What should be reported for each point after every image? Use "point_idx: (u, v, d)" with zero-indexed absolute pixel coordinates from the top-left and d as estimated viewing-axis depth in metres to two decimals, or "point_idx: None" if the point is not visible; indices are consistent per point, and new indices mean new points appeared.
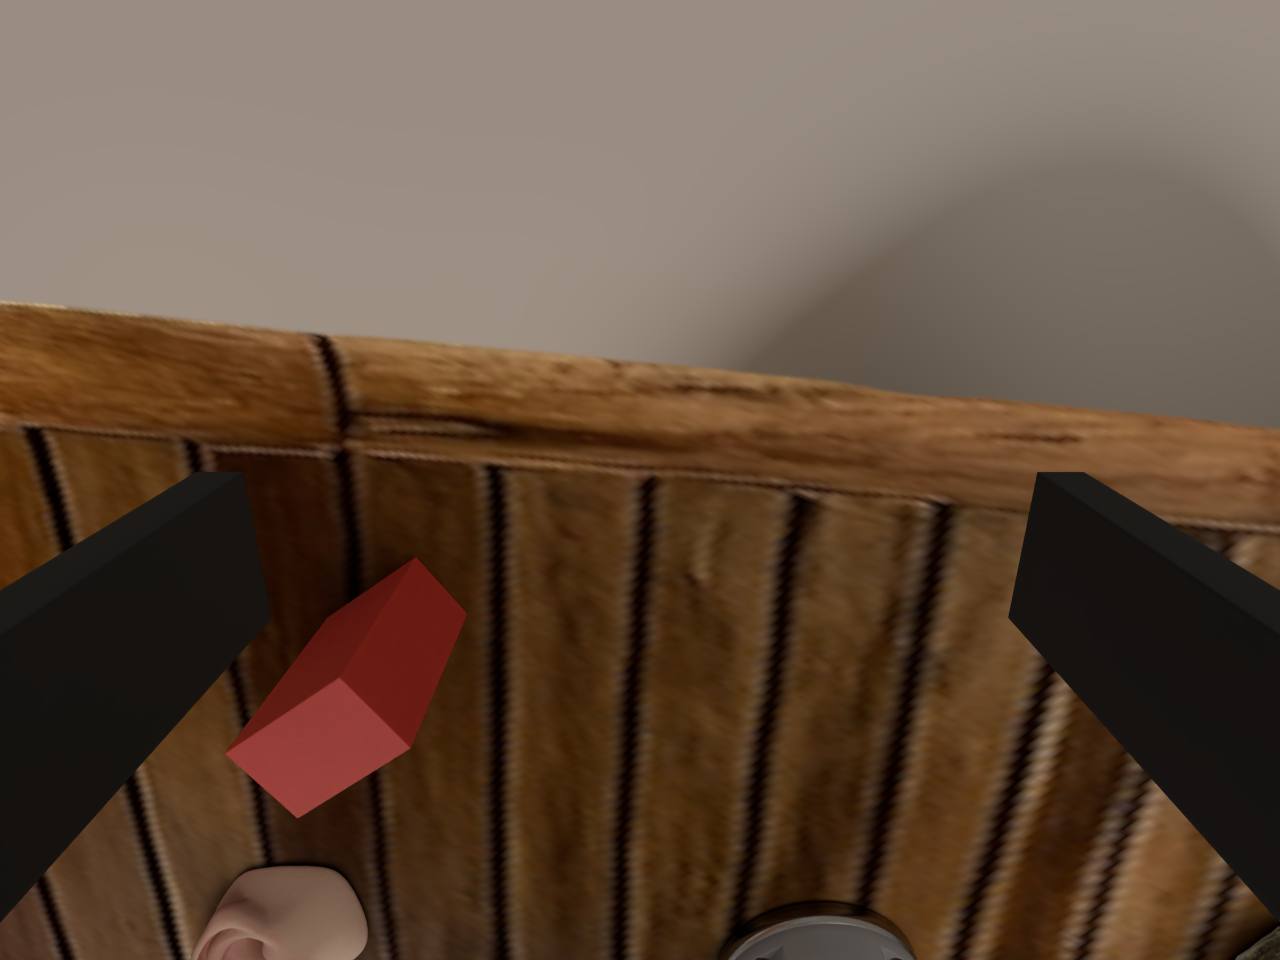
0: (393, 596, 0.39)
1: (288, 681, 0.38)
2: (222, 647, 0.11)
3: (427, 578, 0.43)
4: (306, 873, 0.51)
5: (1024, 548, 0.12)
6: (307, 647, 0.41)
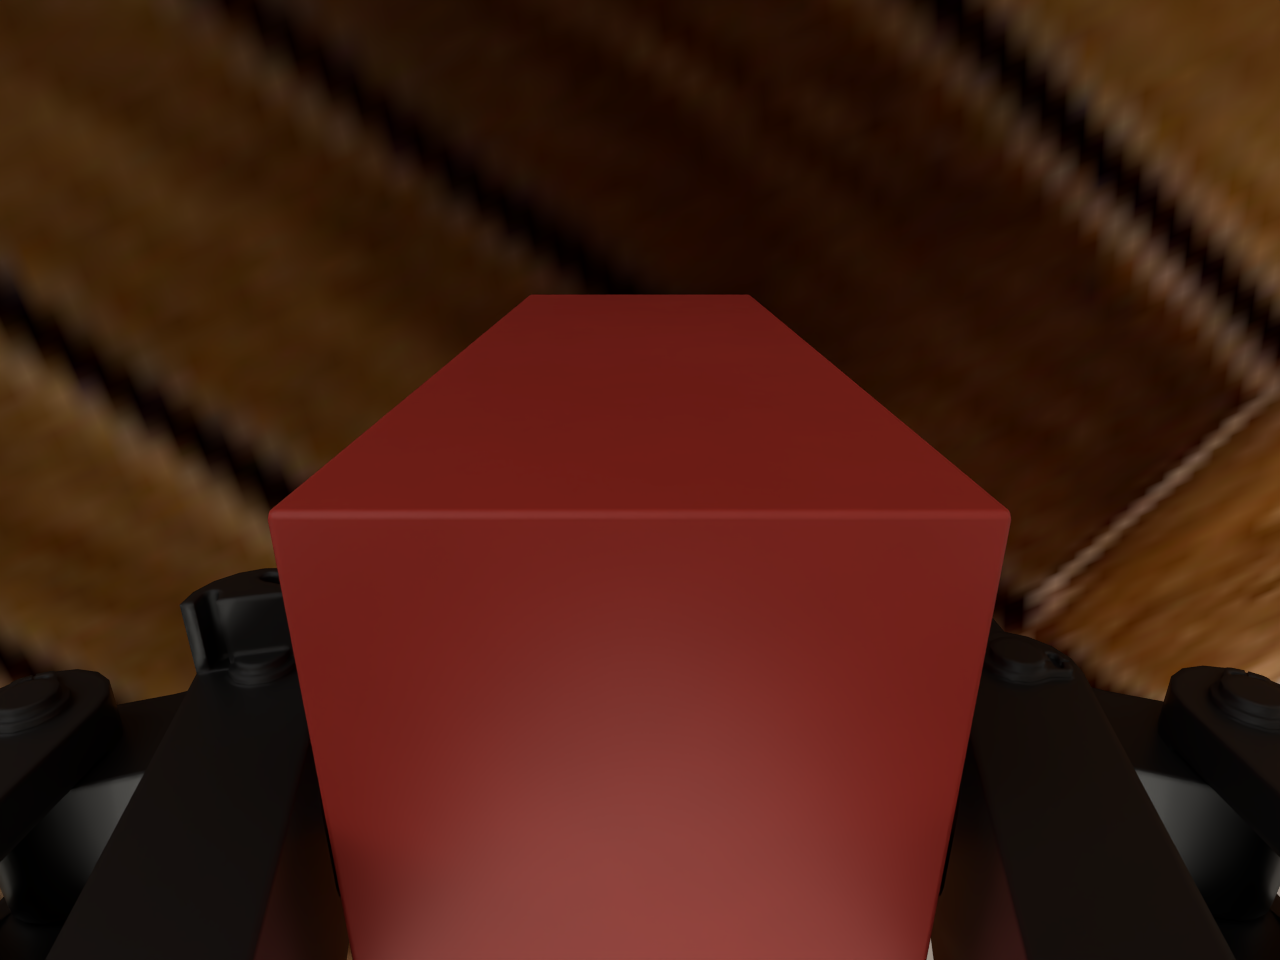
0: None
1: None
2: None
3: None
4: None
5: None
6: None
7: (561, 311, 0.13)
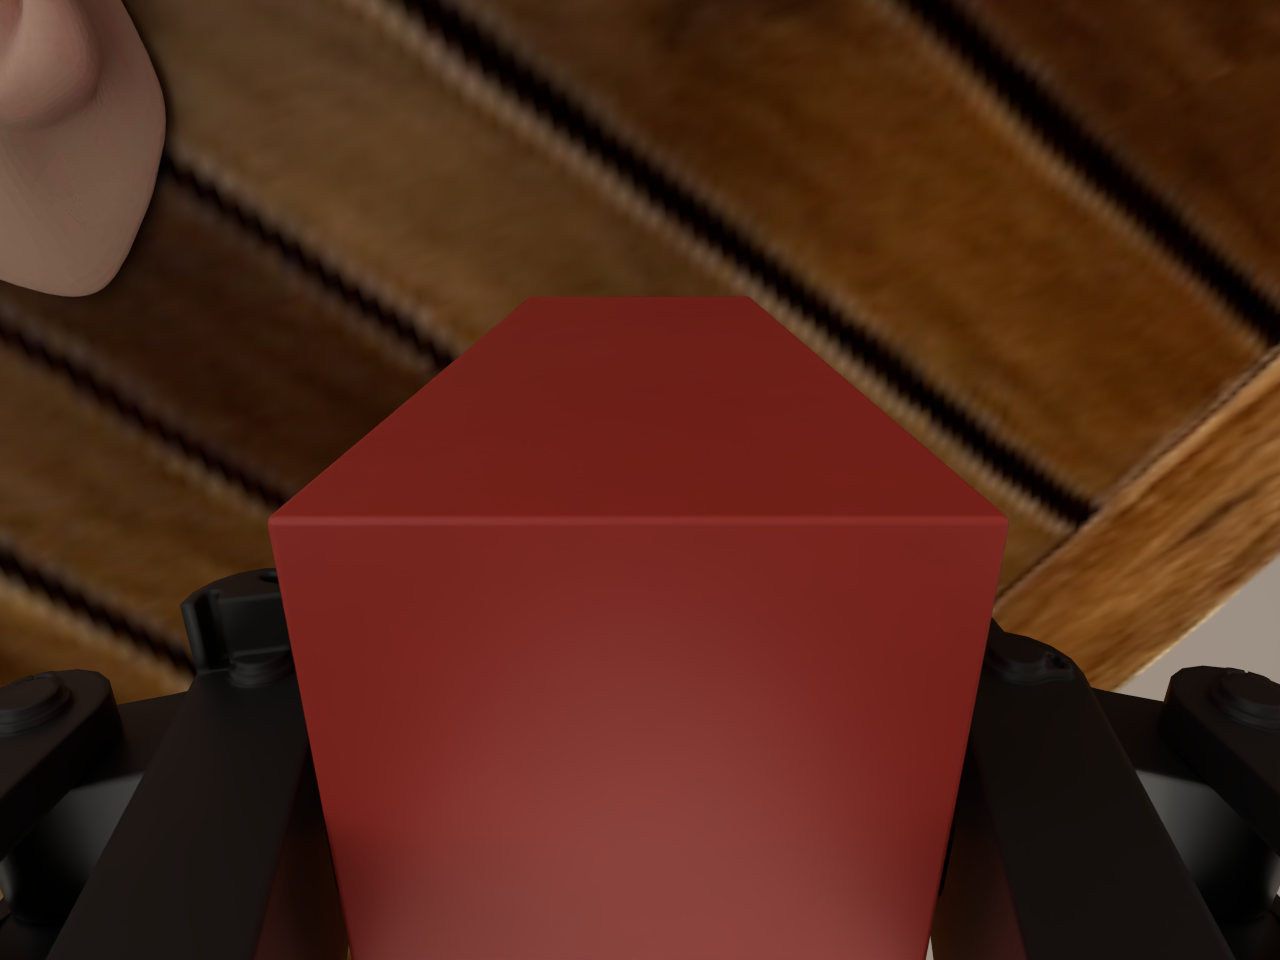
0: None
1: None
2: None
3: None
4: (112, 248, 0.23)
5: None
6: None
7: (561, 313, 0.13)
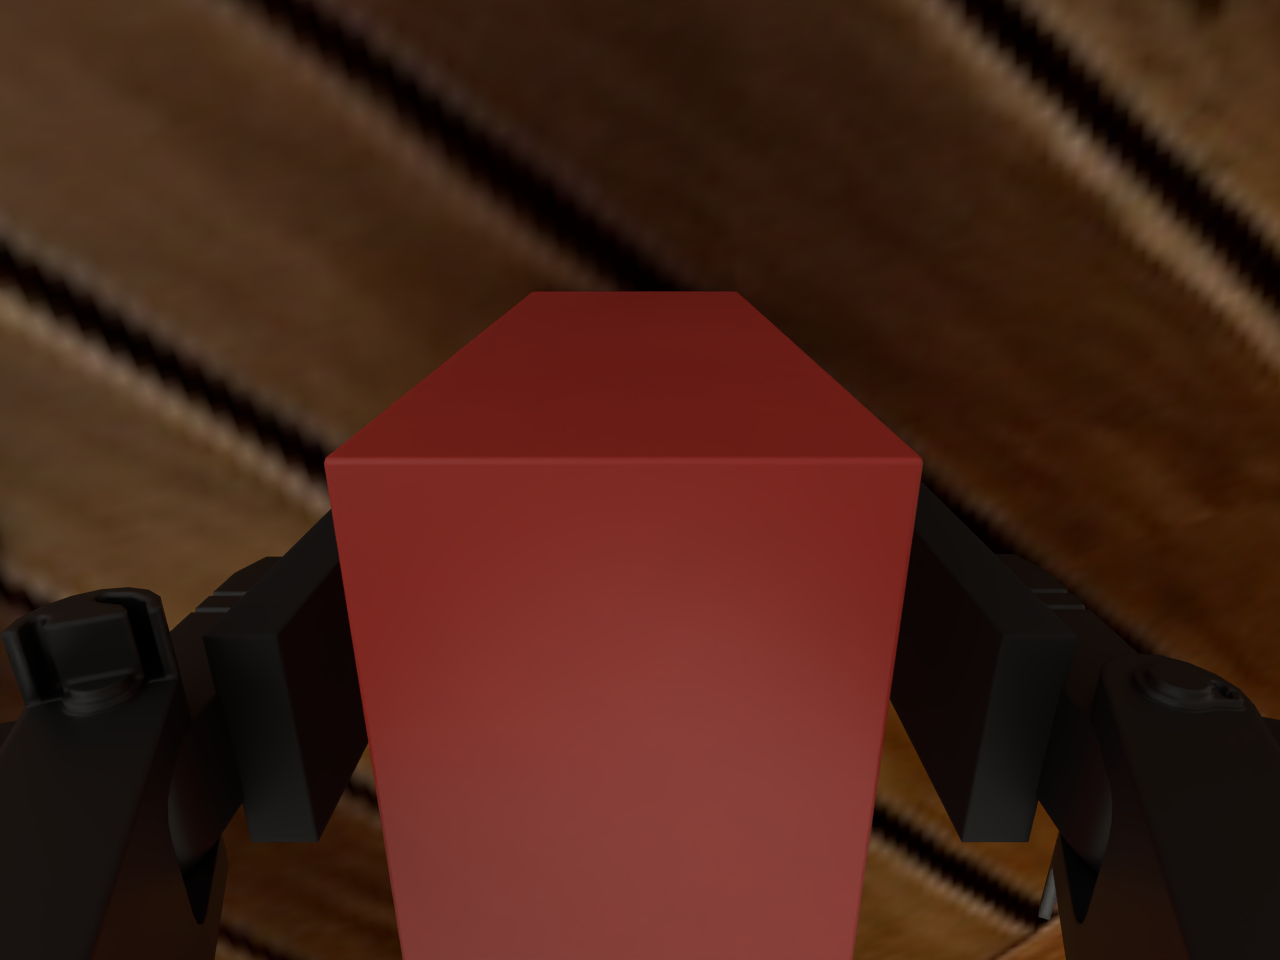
0: None
1: None
2: None
3: None
4: None
5: None
6: None
7: (561, 306, 0.14)
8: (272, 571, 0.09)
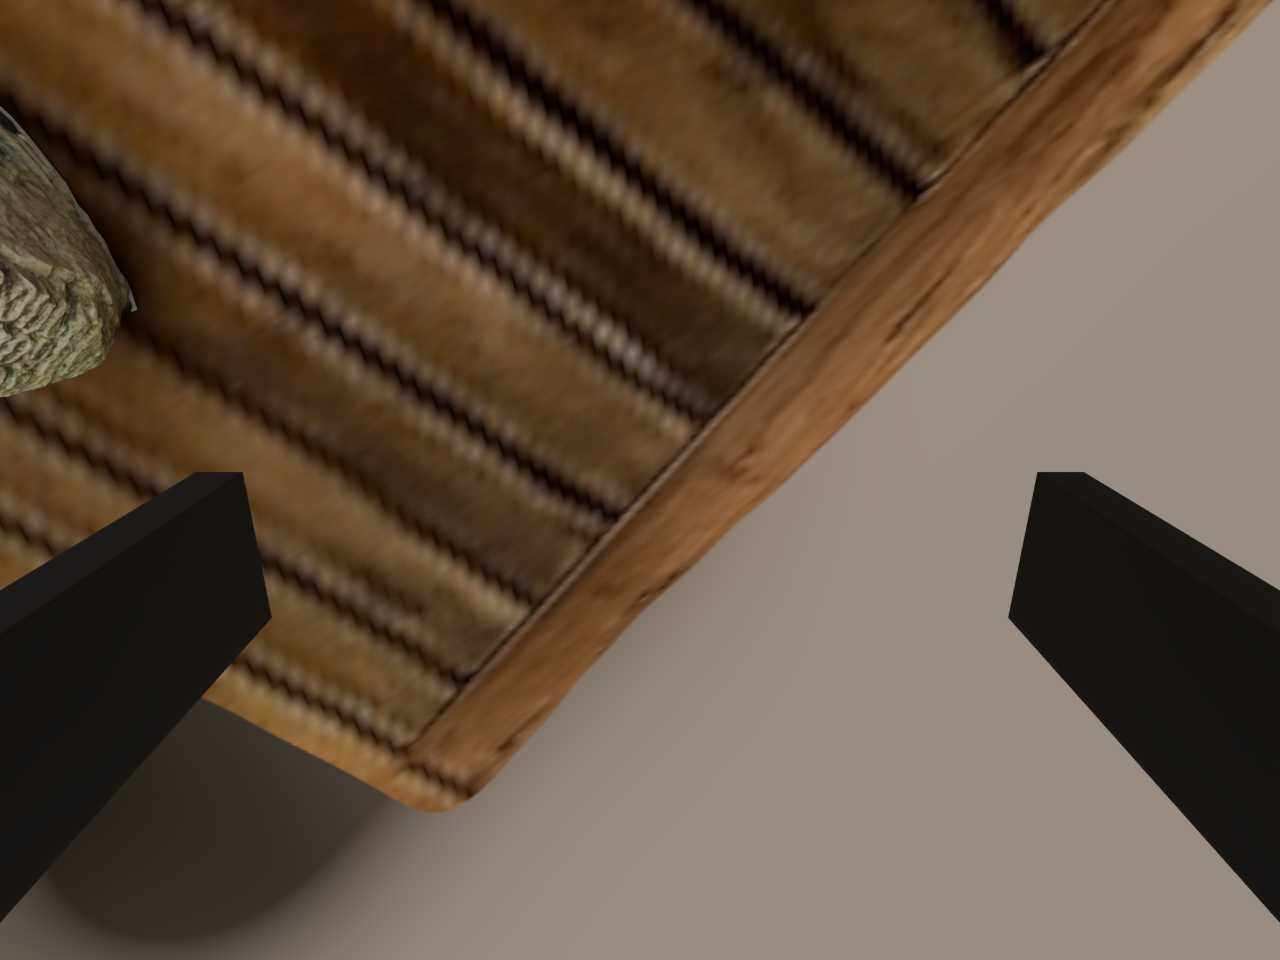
0: None
1: None
2: (222, 647, 0.11)
3: None
4: None
5: (1025, 548, 0.12)
6: None
7: None
8: None
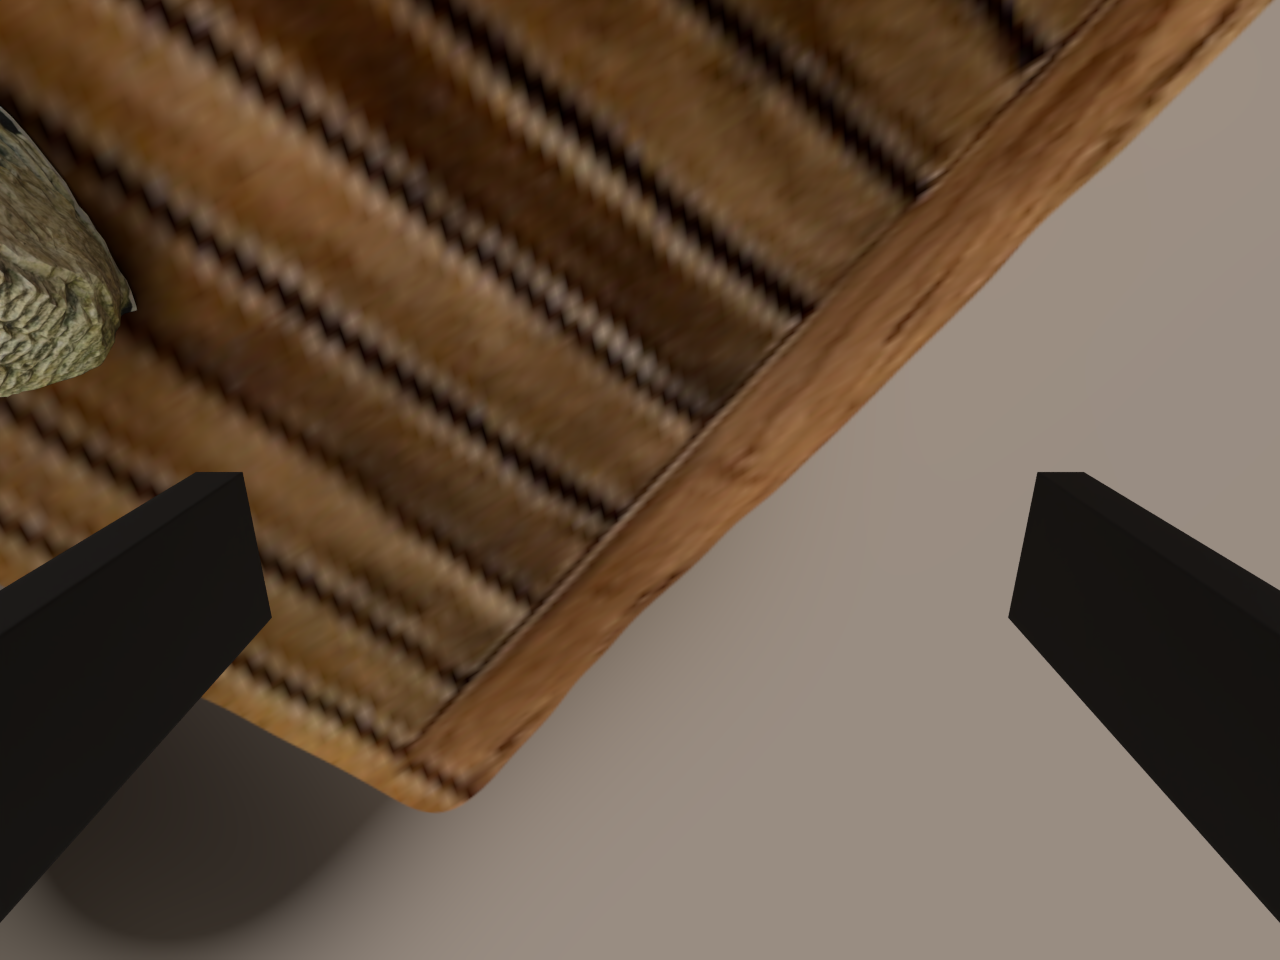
0: None
1: None
2: (222, 647, 0.11)
3: None
4: None
5: (1025, 548, 0.12)
6: None
7: None
8: None
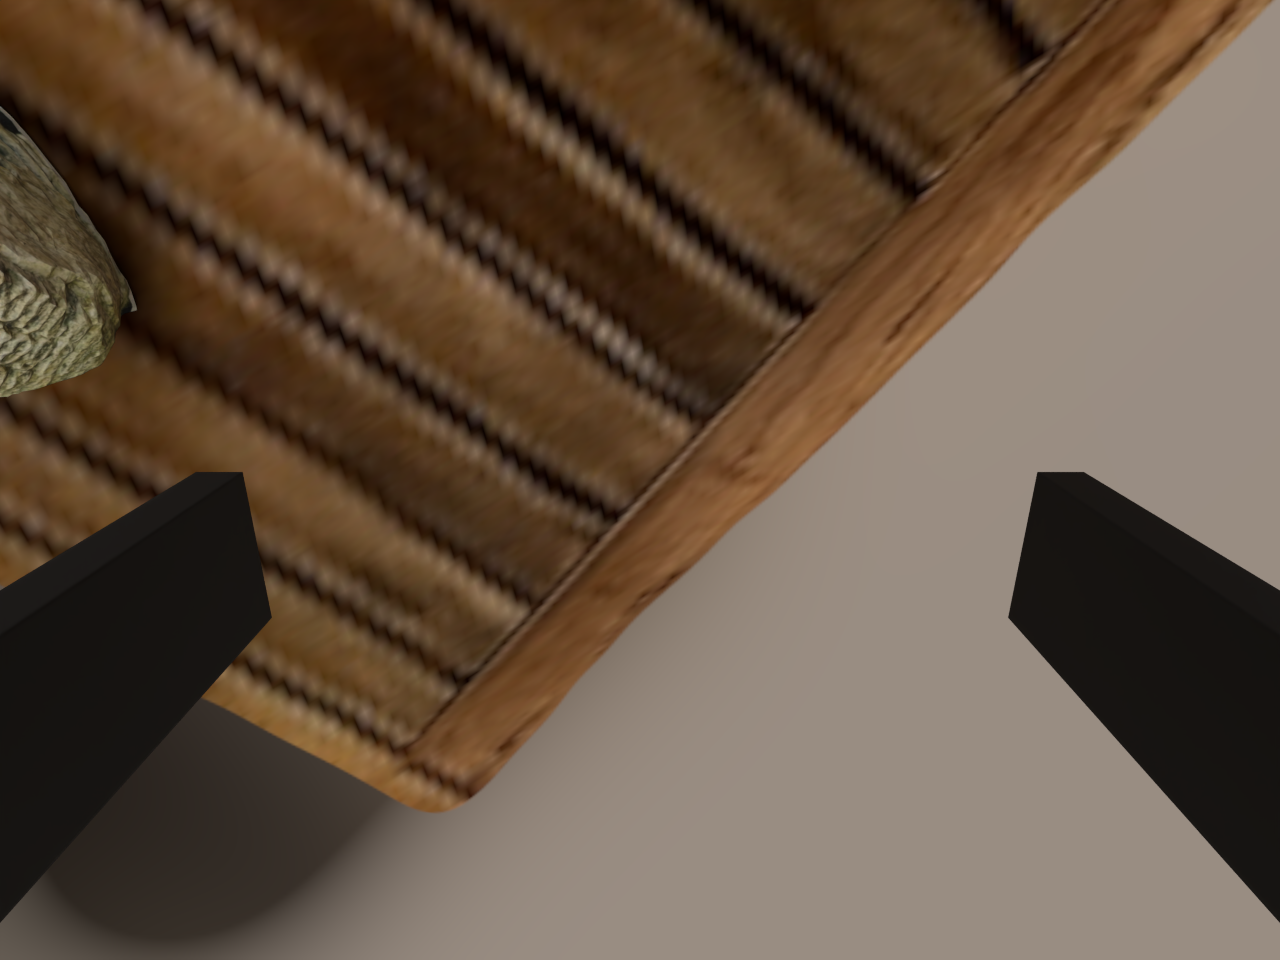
0: None
1: None
2: (222, 647, 0.11)
3: None
4: None
5: (1025, 548, 0.12)
6: None
7: None
8: None
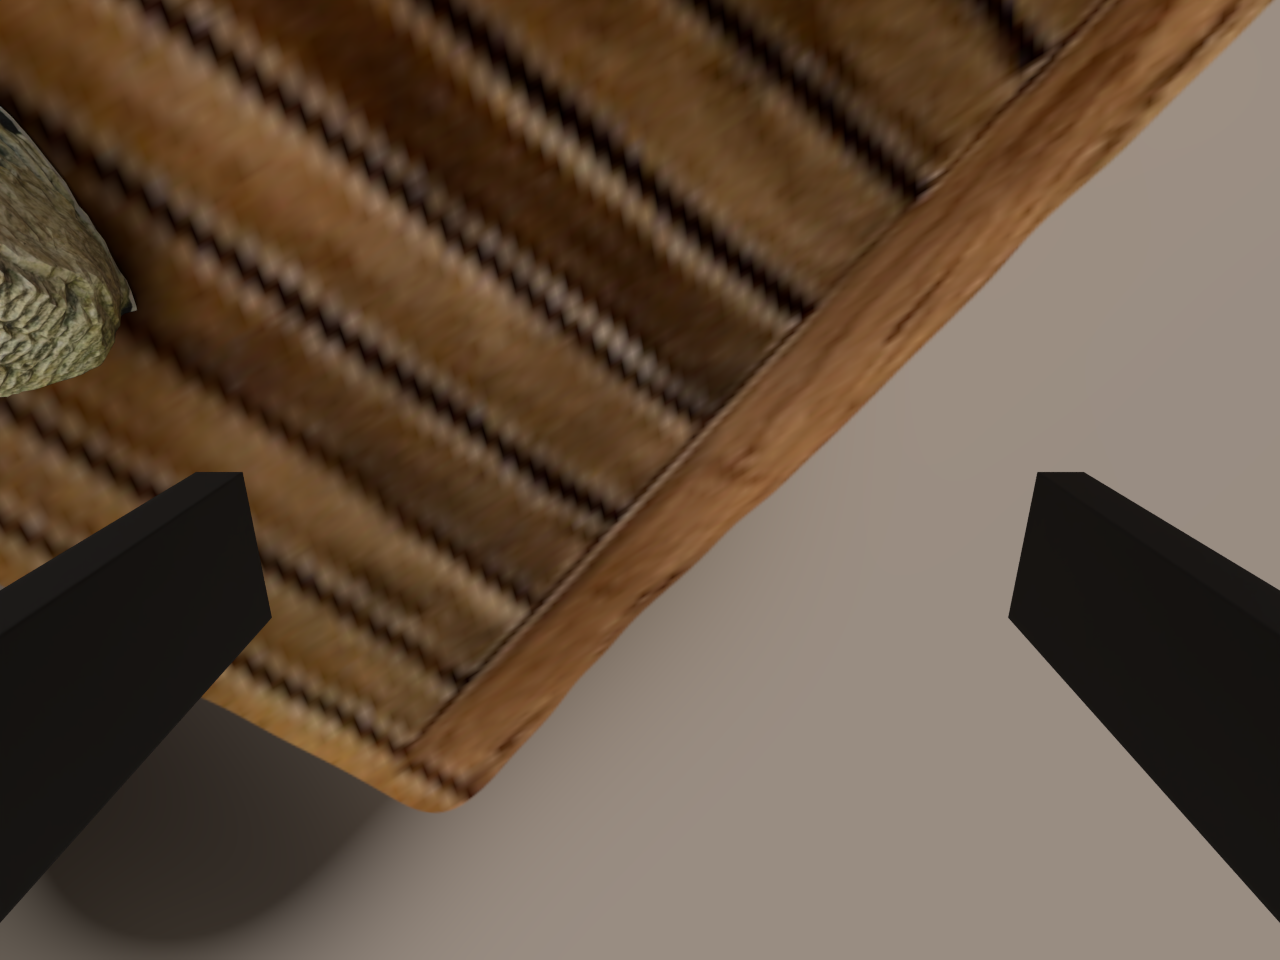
0: None
1: None
2: (222, 647, 0.11)
3: None
4: None
5: (1025, 548, 0.12)
6: None
7: None
8: None
